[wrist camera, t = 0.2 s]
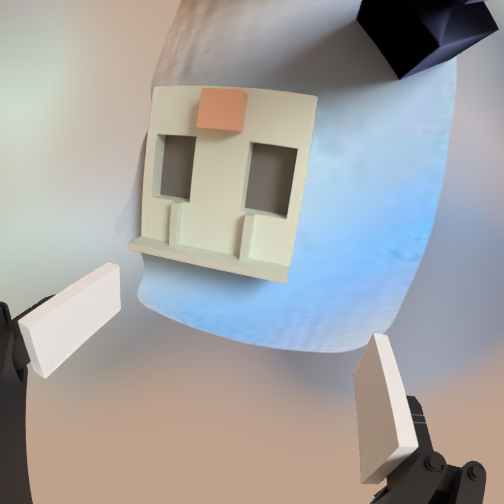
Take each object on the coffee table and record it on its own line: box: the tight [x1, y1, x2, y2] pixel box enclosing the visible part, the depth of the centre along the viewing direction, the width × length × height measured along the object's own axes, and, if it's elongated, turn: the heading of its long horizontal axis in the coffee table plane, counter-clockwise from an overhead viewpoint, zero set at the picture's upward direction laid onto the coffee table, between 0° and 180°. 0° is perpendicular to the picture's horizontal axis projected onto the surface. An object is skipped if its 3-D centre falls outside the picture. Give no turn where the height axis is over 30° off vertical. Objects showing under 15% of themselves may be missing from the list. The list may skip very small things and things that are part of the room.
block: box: [196, 88, 248, 133], centre depth 32 cm, size 5×5×3 cm
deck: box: [128, 85, 318, 284], centre depth 36 cm, size 23×22×6 cm
